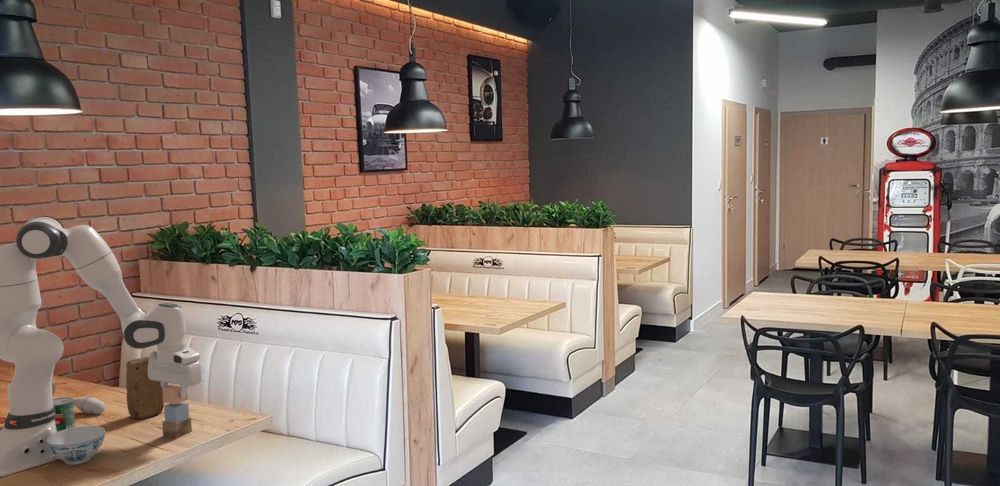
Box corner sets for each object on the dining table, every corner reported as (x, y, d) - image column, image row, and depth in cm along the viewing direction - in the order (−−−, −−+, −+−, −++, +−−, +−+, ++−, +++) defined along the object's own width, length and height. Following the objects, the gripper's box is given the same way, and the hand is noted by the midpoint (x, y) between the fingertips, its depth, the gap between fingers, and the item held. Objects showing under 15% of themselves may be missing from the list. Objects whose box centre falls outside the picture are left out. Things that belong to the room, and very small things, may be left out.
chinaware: (116, 449, 225) (114, 425, 224) (90, 470, 210) (89, 443, 210) (66, 450, 225) (64, 426, 224) (37, 471, 210) (34, 445, 209)
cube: (174, 404, 233) (173, 388, 233) (163, 402, 235) (162, 387, 235) (187, 399, 238) (186, 384, 237) (176, 397, 240) (175, 382, 239)
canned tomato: (43, 439, 234) (41, 406, 233) (51, 431, 242) (49, 398, 241) (71, 437, 236) (69, 403, 235) (78, 428, 244) (76, 396, 243)
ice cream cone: (67, 410, 262) (103, 420, 259) (57, 404, 257) (93, 414, 254) (76, 394, 265) (112, 403, 262) (67, 388, 260) (103, 397, 257)
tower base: (176, 439, 234) (175, 424, 233) (163, 436, 236) (162, 421, 236) (191, 433, 239) (191, 418, 239) (178, 430, 242) (177, 415, 241)
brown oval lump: (134, 421, 250) (130, 363, 248) (126, 416, 255) (122, 359, 253) (167, 413, 258) (163, 357, 255) (158, 408, 263) (155, 353, 261)
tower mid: (176, 423, 234) (175, 407, 233) (165, 421, 236) (164, 405, 235) (189, 418, 238) (188, 403, 238) (177, 416, 240) (177, 401, 240)
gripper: (141, 352, 236) (143, 395, 238) (187, 359, 228) (190, 403, 229) (157, 348, 242) (160, 389, 244) (203, 354, 233) (206, 397, 235)
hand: (175, 396), depth 236 cm, fingers closed on cube, 5 cm apart
